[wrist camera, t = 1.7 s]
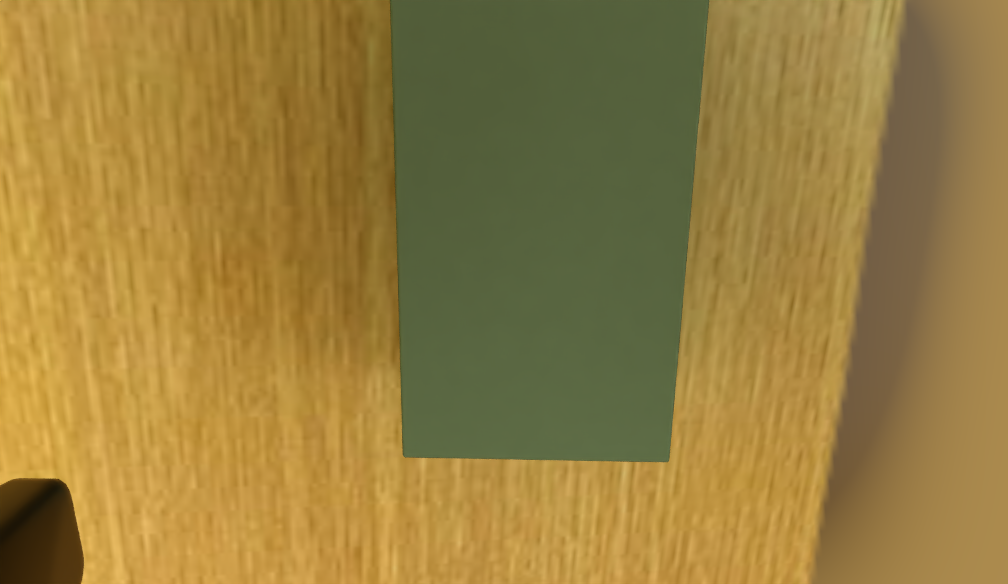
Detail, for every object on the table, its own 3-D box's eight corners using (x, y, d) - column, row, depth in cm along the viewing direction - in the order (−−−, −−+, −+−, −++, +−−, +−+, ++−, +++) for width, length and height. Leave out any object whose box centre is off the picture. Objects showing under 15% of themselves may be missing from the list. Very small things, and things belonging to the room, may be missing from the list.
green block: (645, 380, 21) (669, 463, 18) (420, 376, 21) (402, 458, 18) (678, -52, 18) (713, -48, 15) (412, -56, 18) (388, -52, 15)
